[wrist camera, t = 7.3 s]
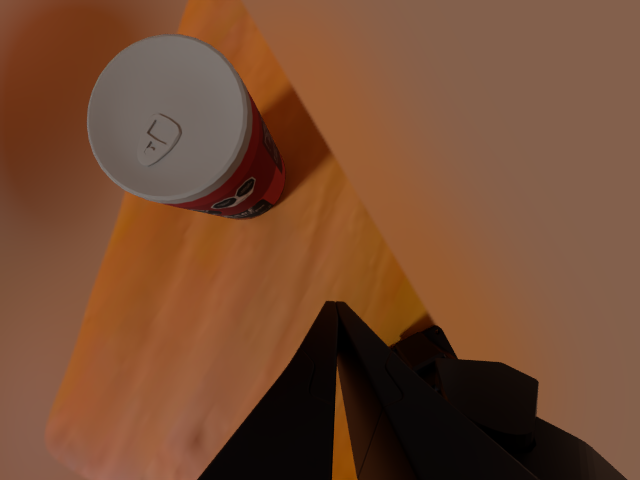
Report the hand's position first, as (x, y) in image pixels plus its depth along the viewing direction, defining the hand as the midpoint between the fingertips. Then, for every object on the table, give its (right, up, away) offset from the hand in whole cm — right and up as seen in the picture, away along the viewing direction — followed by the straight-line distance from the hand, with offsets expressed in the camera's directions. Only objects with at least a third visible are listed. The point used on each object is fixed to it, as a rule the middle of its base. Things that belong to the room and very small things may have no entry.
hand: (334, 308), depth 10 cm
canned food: (-8, +9, +12) cm, 16 cm away
